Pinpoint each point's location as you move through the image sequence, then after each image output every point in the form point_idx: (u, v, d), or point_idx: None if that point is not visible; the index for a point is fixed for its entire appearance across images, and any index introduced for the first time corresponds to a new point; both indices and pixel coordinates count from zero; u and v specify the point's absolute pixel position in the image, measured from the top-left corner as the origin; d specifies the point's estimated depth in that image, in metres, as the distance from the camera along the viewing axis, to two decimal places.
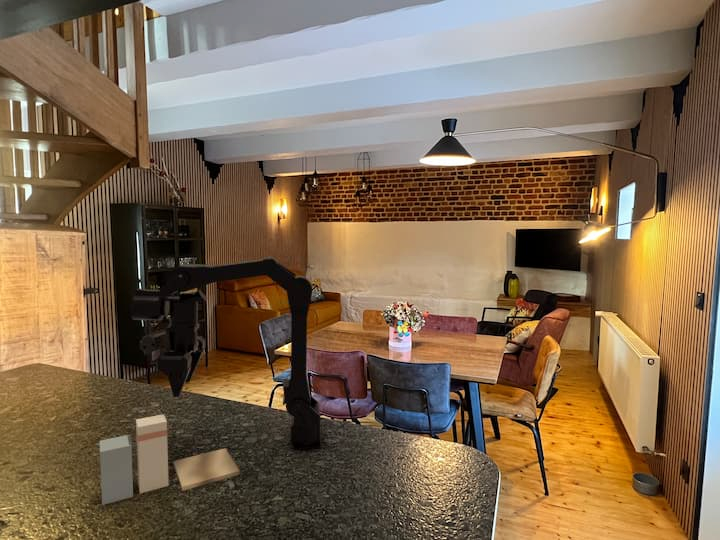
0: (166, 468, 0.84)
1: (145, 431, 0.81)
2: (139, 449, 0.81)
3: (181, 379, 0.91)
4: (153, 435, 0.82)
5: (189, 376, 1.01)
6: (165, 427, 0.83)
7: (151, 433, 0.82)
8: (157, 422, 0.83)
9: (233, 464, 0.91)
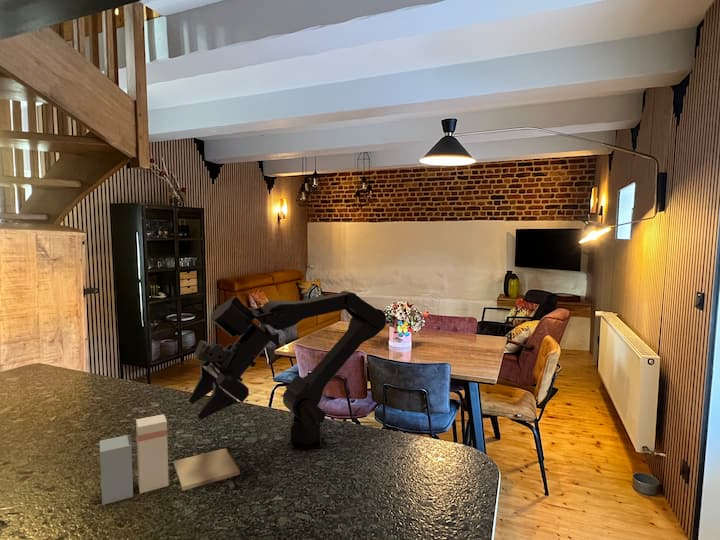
0: (166, 468, 0.84)
1: (145, 431, 0.81)
2: (139, 449, 0.81)
3: (221, 406, 0.85)
4: (153, 435, 0.82)
5: (197, 398, 0.92)
6: (165, 427, 0.83)
7: (151, 433, 0.82)
8: (157, 422, 0.83)
9: (233, 464, 0.91)
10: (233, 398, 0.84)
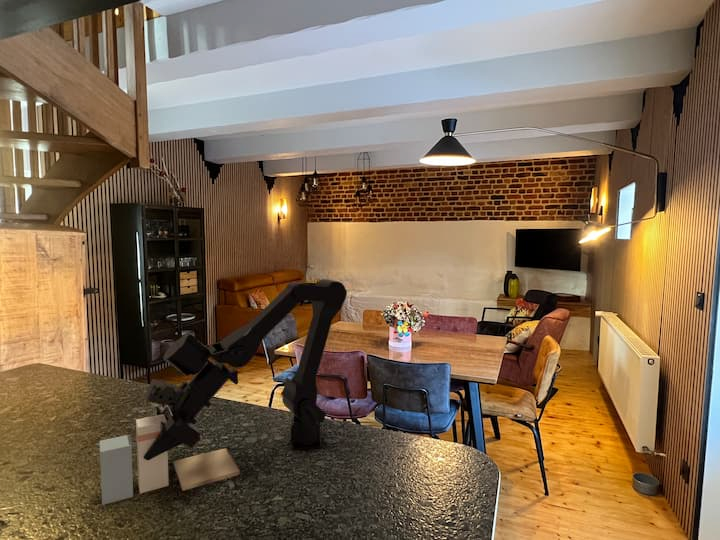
0: (166, 468, 0.84)
1: (145, 431, 0.81)
2: (139, 449, 0.81)
3: (168, 446, 0.82)
4: (153, 435, 0.82)
5: None
6: None
7: (151, 433, 0.82)
8: (157, 422, 0.83)
9: (233, 464, 0.91)
10: None
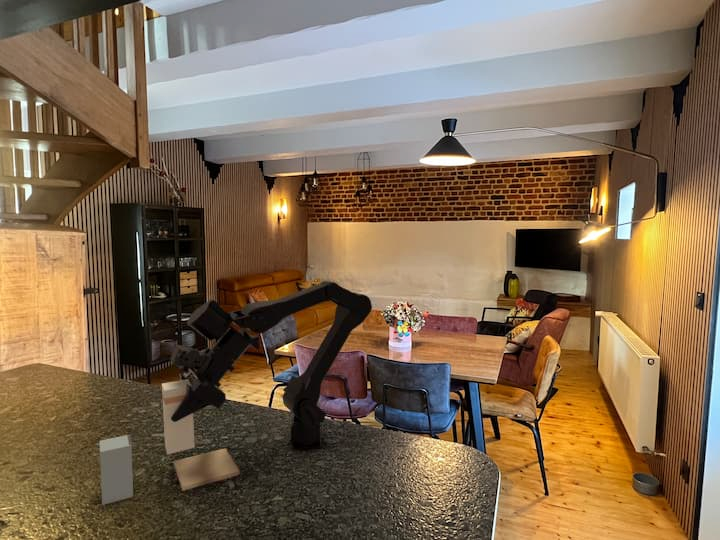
0: (192, 430, 0.86)
1: (171, 394, 0.83)
2: (166, 412, 0.83)
3: (195, 408, 0.84)
4: (179, 398, 0.84)
5: None
6: None
7: (177, 397, 0.84)
8: (183, 386, 0.85)
9: (233, 464, 0.91)
10: (207, 400, 0.83)
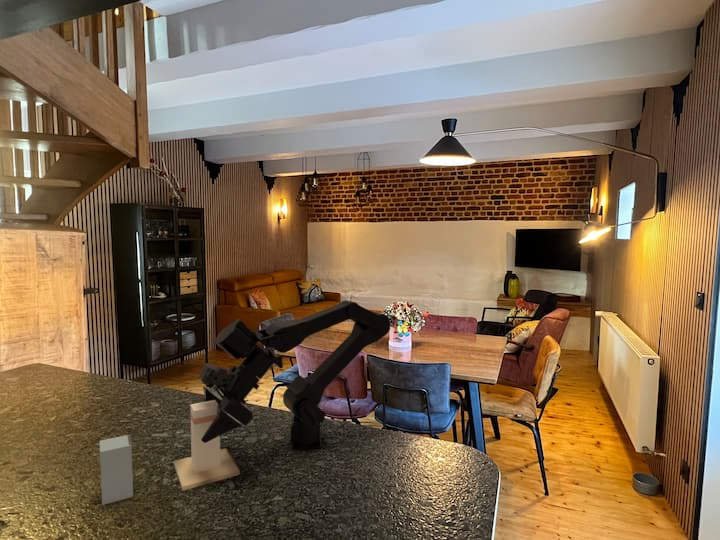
0: (218, 450, 0.89)
1: (200, 415, 0.87)
2: (195, 432, 0.87)
3: (225, 429, 0.86)
4: (207, 419, 0.88)
5: None
6: None
7: (206, 417, 0.87)
8: (211, 406, 0.88)
9: (233, 464, 0.91)
10: (237, 422, 0.85)
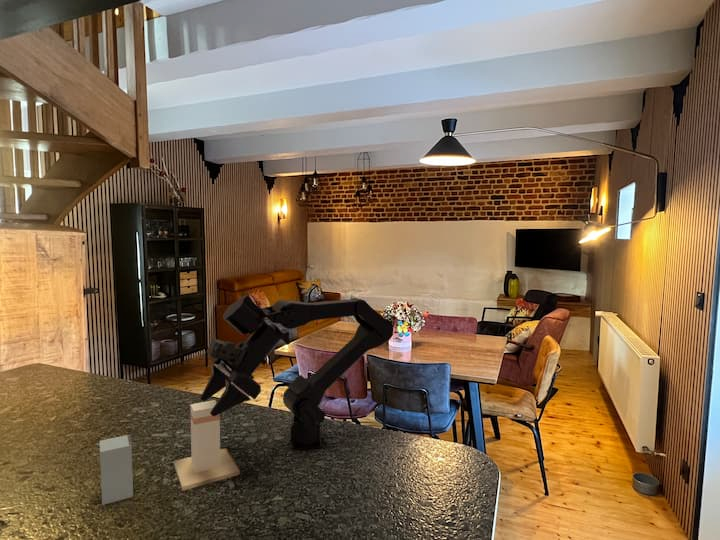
0: (218, 450, 0.89)
1: (200, 415, 0.87)
2: (195, 432, 0.87)
3: (233, 403, 0.86)
4: (207, 419, 0.88)
5: (208, 395, 0.94)
6: None
7: (206, 417, 0.87)
8: (211, 406, 0.88)
9: (233, 464, 0.91)
10: (245, 395, 0.85)
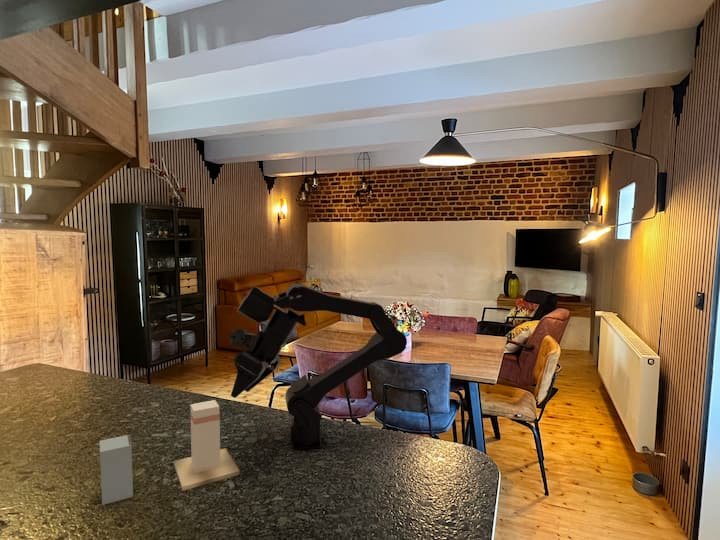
0: (218, 450, 0.89)
1: (200, 415, 0.87)
2: (195, 432, 0.87)
3: (246, 383, 0.91)
4: (207, 419, 0.88)
5: (250, 386, 1.01)
6: (218, 411, 0.89)
7: (206, 417, 0.87)
8: (211, 406, 0.88)
9: (233, 464, 0.91)
10: (251, 373, 0.89)
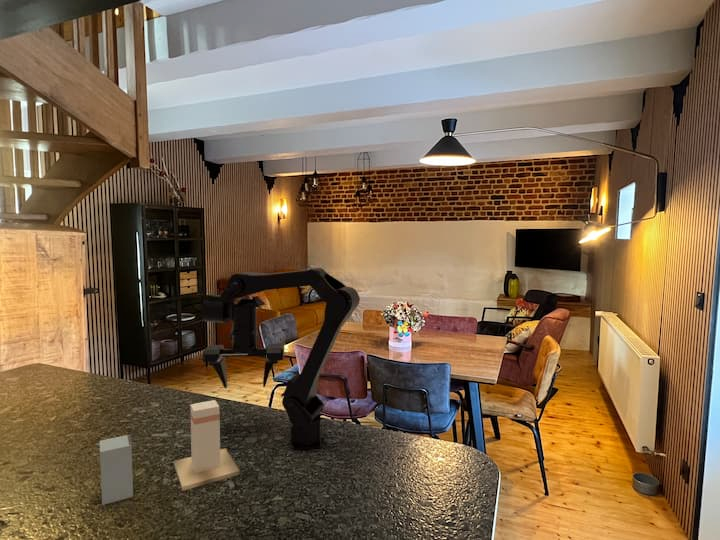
0: (218, 450, 0.89)
1: (200, 415, 0.87)
2: (195, 432, 0.87)
3: None
4: (207, 419, 0.88)
5: (263, 381, 1.05)
6: (218, 411, 0.89)
7: (206, 417, 0.87)
8: (211, 406, 0.88)
9: (233, 464, 0.91)
10: None
